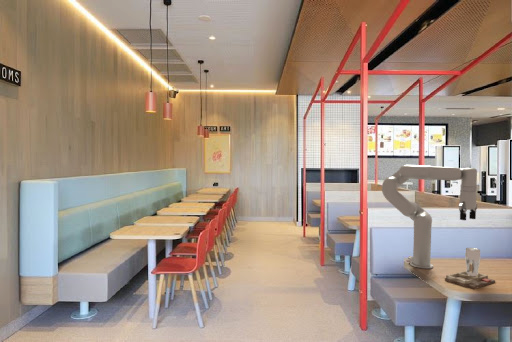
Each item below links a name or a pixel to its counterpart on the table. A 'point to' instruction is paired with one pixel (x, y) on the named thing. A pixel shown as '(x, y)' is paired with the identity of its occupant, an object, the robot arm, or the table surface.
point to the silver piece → (472, 261)
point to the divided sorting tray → (469, 280)
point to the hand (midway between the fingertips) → (467, 219)
